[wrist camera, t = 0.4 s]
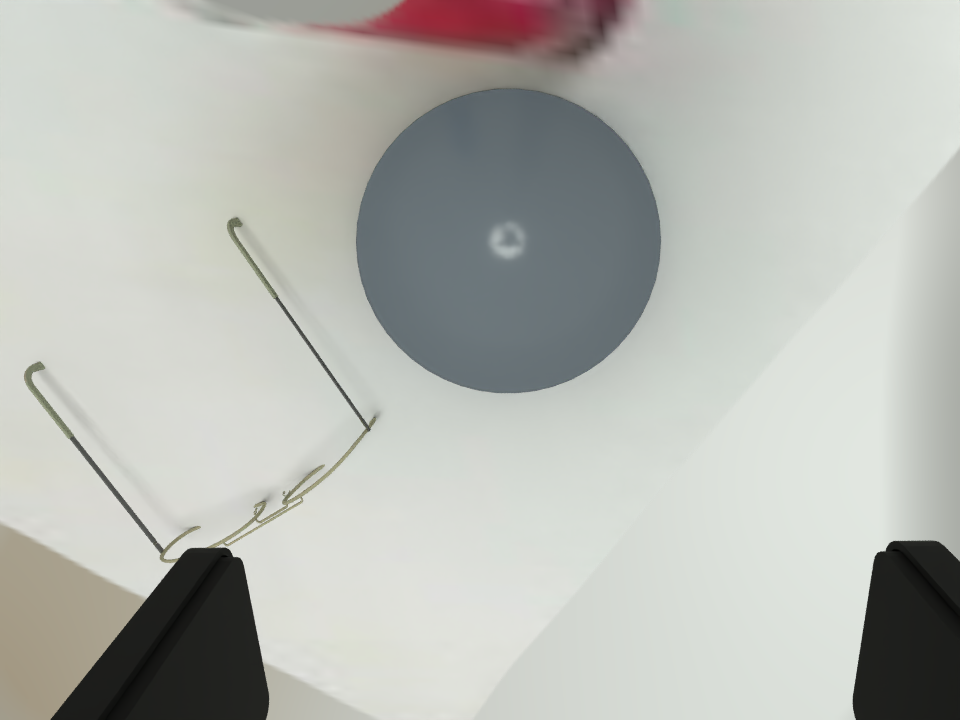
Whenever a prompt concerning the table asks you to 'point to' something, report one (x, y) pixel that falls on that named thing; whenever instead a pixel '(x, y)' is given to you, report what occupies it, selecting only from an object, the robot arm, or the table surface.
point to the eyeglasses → (68, 433)
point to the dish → (508, 241)
